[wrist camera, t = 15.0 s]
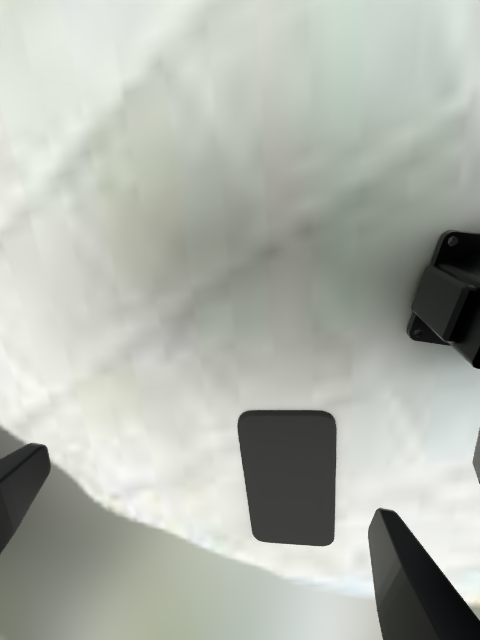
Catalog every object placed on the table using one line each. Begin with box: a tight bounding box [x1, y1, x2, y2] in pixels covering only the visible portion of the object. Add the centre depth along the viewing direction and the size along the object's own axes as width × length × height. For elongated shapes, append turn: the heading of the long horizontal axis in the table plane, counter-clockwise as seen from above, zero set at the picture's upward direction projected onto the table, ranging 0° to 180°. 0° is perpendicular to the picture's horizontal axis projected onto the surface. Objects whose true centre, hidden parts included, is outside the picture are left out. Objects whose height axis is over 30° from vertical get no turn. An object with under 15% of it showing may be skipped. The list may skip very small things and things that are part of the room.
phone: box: [238, 410, 336, 546], centre depth 26 cm, size 7×1×15 cm
